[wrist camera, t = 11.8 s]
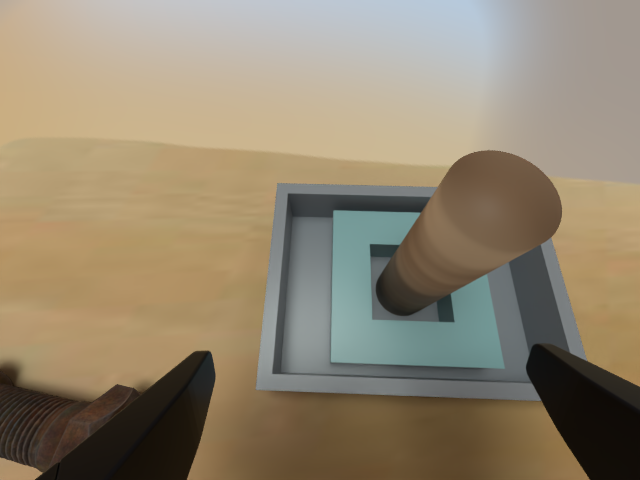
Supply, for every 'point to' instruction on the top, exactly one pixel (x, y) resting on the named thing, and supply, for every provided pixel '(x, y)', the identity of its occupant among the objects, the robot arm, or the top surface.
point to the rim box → (386, 328)
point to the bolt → (51, 422)
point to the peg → (470, 229)
